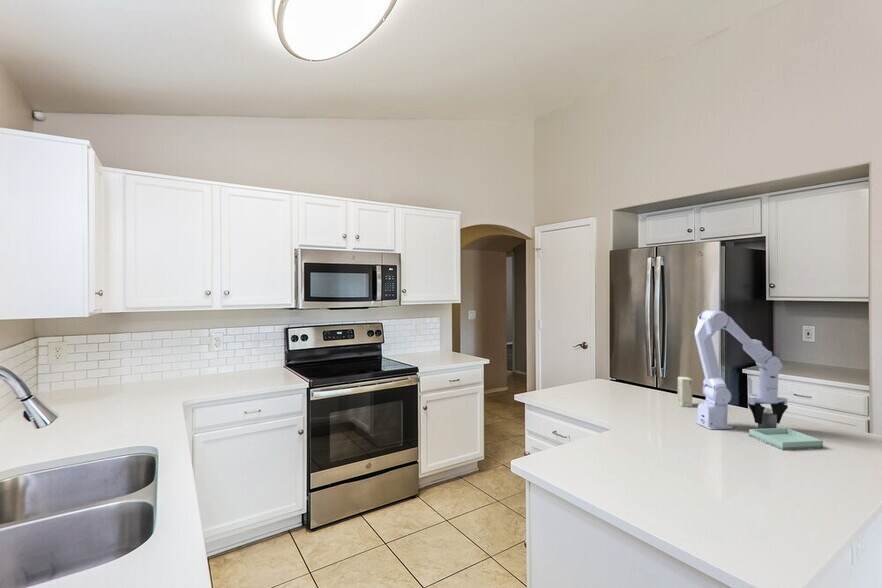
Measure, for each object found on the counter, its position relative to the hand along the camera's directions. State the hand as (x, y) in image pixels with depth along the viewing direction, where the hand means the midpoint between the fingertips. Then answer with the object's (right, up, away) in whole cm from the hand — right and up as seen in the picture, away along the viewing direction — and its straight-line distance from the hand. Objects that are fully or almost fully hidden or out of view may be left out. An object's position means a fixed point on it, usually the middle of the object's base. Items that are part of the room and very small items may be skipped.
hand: (767, 423), depth 163 cm
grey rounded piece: (0, -2, 0) cm, 2 cm away
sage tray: (-4, -3, -14) cm, 14 cm away
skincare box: (-13, -2, +32) cm, 34 cm away
